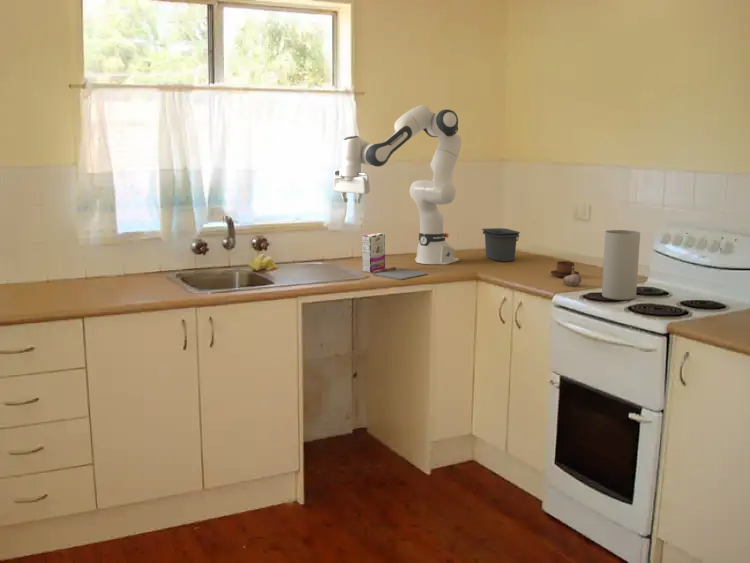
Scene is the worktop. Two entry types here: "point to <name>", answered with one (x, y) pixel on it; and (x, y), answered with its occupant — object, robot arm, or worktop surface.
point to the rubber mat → (400, 274)
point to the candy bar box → (373, 252)
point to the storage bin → (500, 243)
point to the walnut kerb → (384, 270)
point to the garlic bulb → (572, 279)
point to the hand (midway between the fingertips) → (351, 202)
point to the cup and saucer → (564, 269)
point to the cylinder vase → (620, 264)
